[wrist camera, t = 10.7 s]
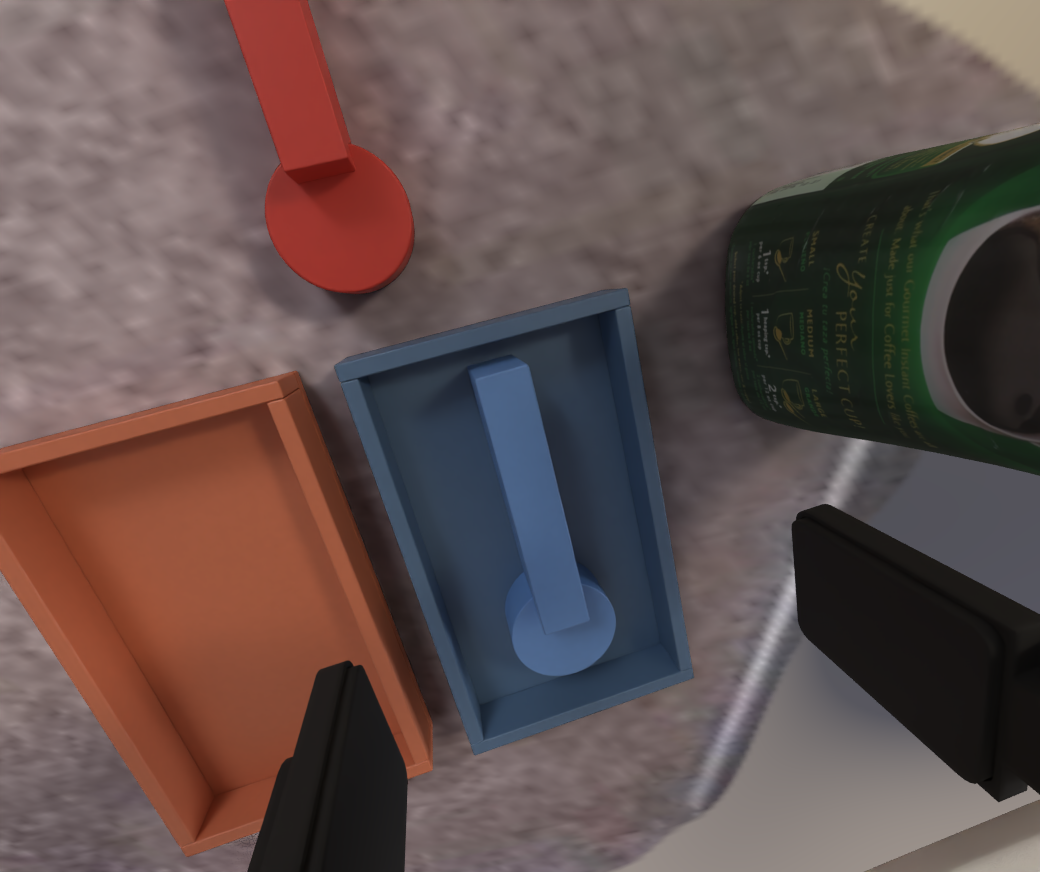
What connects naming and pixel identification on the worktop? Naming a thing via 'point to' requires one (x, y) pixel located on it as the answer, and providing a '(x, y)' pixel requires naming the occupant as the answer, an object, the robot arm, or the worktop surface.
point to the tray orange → (203, 593)
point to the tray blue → (483, 515)
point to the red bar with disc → (319, 160)
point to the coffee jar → (898, 301)
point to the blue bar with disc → (538, 531)
